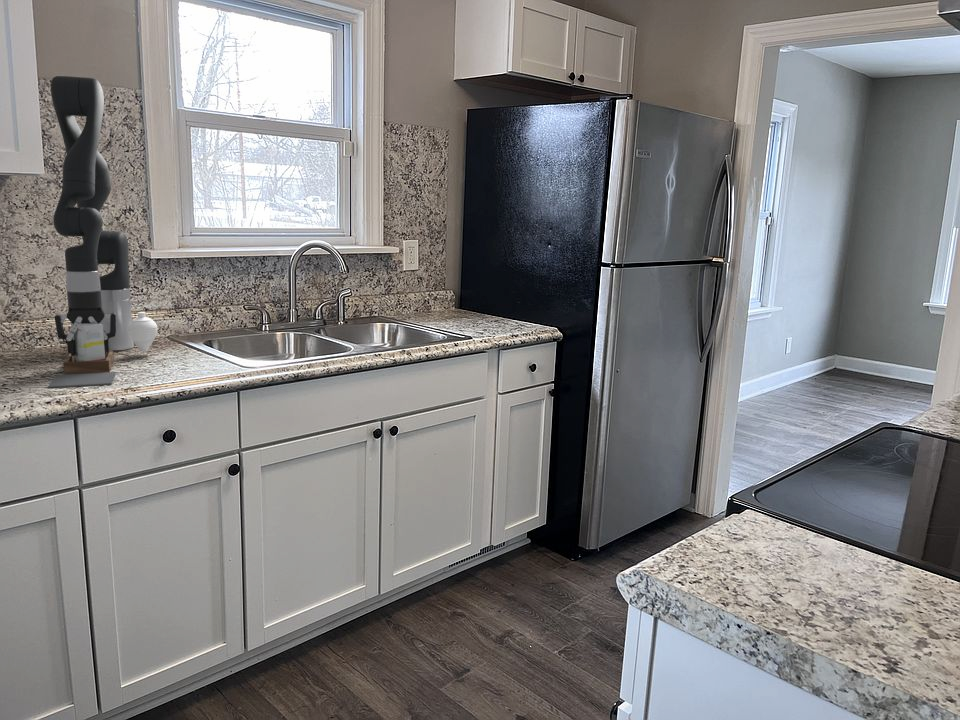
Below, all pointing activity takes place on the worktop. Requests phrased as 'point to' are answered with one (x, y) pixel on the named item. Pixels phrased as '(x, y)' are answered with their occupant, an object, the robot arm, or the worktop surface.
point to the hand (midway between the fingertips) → (89, 354)
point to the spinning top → (142, 331)
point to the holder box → (88, 365)
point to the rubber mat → (82, 379)
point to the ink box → (89, 342)
